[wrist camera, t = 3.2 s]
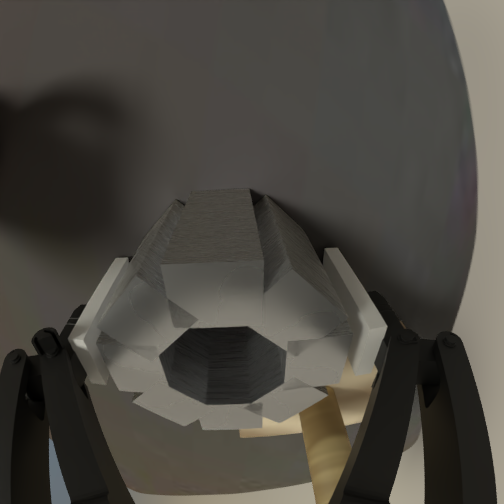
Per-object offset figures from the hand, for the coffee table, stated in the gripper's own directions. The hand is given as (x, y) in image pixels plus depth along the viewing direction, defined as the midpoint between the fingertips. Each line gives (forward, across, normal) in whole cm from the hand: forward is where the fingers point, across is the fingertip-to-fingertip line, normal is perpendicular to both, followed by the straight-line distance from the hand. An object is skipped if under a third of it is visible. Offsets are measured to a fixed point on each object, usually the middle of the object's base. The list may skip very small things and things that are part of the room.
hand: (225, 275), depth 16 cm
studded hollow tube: (0, 0, 0) cm, 0 cm away
